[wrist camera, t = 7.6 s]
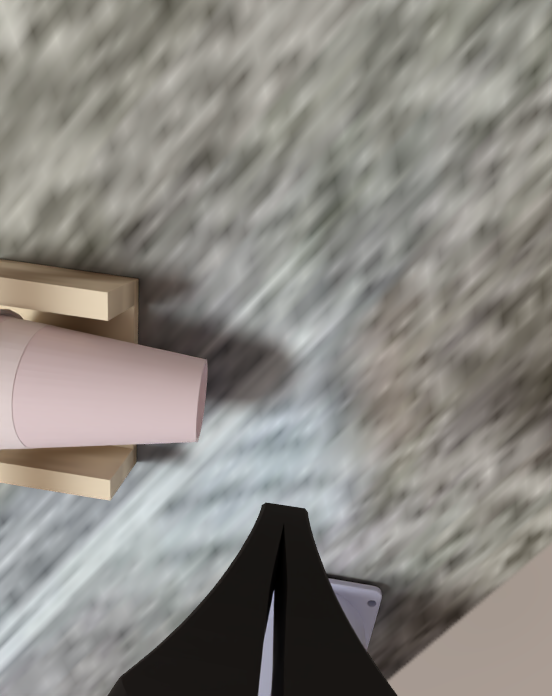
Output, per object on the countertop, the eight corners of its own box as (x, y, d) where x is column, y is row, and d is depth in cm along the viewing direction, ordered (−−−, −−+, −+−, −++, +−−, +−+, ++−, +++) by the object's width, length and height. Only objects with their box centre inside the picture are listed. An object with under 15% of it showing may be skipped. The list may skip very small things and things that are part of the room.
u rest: (138, 278, 20) (107, 292, 17) (136, 462, 24) (110, 500, 21) (-3, 258, 20) (-59, 268, 17) (15, 442, 24) (-28, 478, 21)
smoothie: (202, 322, 16) (-197, 281, 15) (184, 494, 16) (-225, 464, 14) (214, 334, 22) (-65, 306, 21) (201, 456, 22) (-82, 434, 21)
